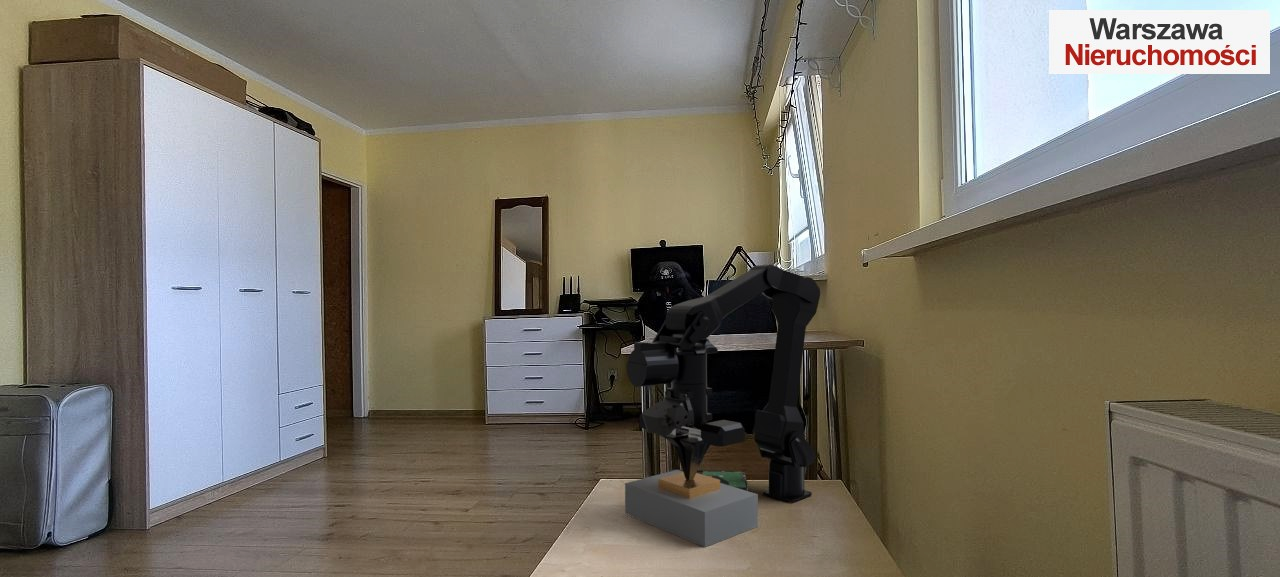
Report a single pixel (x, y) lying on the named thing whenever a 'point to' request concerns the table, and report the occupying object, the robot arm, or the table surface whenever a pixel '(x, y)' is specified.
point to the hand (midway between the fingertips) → (689, 479)
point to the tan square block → (689, 485)
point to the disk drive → (727, 478)
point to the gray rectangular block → (693, 510)
